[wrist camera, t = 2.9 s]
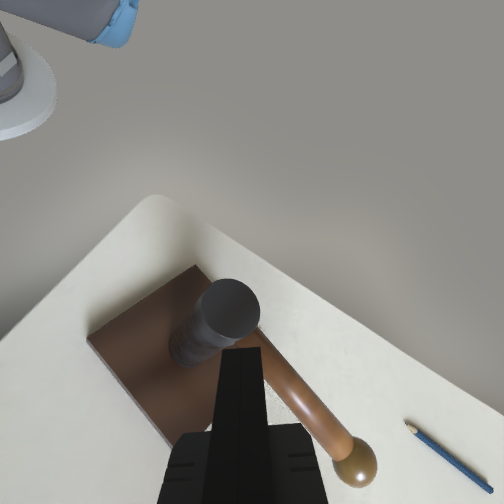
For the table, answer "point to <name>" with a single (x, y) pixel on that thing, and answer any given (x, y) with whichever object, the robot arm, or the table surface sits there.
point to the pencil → (450, 459)
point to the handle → (281, 376)
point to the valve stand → (164, 357)
